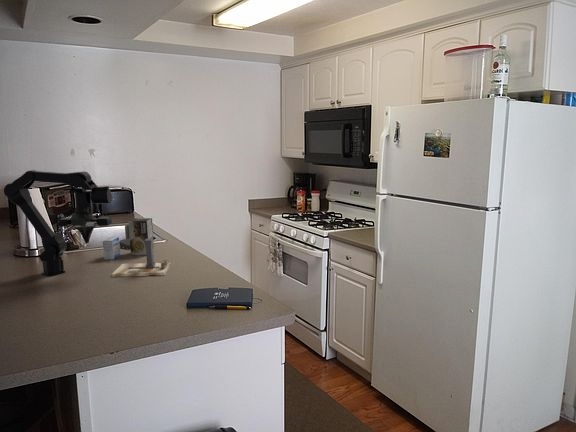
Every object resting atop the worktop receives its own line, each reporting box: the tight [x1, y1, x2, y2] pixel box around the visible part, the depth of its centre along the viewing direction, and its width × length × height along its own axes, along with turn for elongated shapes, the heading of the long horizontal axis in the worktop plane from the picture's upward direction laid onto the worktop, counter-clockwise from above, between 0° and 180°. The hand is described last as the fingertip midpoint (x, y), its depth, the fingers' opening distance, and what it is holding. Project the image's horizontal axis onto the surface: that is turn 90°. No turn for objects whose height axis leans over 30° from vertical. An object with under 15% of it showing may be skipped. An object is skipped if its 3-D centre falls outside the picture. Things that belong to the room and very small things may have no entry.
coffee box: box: [127, 217, 155, 256], centre depth 212 cm, size 9×6×16 cm
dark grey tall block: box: [145, 237, 156, 268], centre depth 184 cm, size 3×4×11 cm
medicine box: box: [102, 236, 121, 261], centre depth 205 cm, size 8×4×9 cm, turn 179°
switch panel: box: [111, 259, 172, 278], centre depth 184 cm, size 20×14×4 cm
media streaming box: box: [119, 237, 155, 250], centre depth 229 cm, size 15×15×3 cm
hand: (87, 243), depth 181 cm, fingers closed
